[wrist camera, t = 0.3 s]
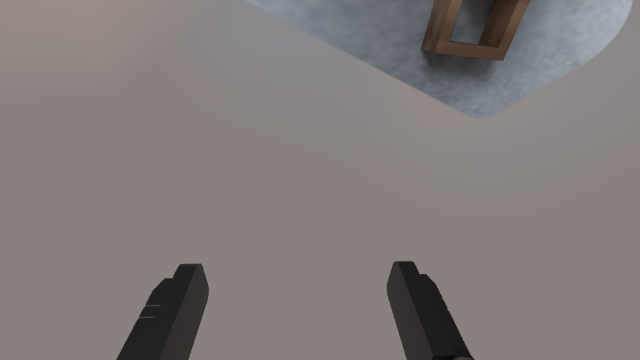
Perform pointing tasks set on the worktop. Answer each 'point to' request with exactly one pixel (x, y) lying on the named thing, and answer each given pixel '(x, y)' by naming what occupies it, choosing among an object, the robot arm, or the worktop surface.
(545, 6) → the worktop surface
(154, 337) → the robot arm
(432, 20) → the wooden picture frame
